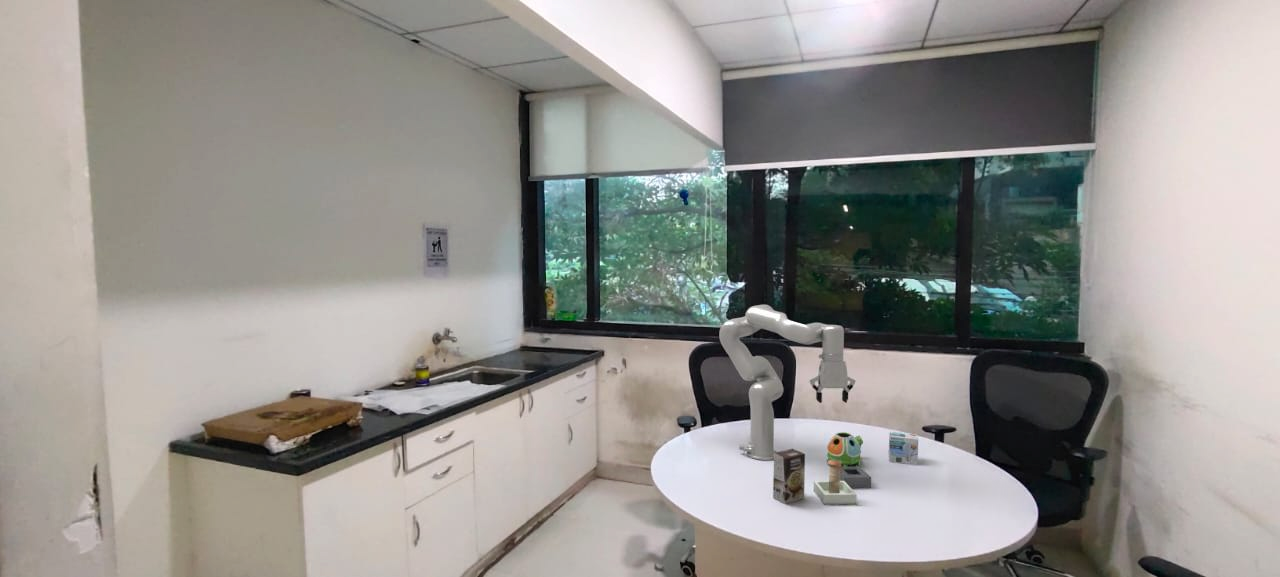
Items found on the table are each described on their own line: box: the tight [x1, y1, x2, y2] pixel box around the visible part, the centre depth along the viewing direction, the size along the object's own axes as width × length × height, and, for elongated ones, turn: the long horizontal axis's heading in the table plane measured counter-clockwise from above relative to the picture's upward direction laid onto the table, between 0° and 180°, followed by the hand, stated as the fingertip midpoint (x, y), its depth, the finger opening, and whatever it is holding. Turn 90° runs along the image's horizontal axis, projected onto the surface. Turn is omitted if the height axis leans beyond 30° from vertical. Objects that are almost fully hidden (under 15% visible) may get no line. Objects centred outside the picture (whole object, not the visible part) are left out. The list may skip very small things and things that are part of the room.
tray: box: [813, 480, 858, 506], centre depth 191 cm, size 11×11×4 cm
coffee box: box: [772, 448, 806, 505], centre depth 190 cm, size 9×6×16 cm
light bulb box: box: [888, 431, 919, 466], centre depth 223 cm, size 11×7×11 cm, turn 68°
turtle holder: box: [826, 431, 864, 467], centre depth 222 cm, size 12×18×12 cm
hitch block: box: [840, 465, 872, 489], centre depth 203 cm, size 10×10×4 cm
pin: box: [827, 460, 842, 493], centre depth 190 cm, size 4×4×12 cm
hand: (832, 401), depth 209 cm, fingers open, 9 cm apart
